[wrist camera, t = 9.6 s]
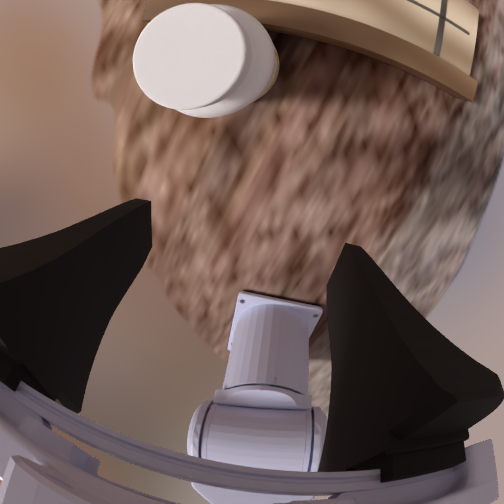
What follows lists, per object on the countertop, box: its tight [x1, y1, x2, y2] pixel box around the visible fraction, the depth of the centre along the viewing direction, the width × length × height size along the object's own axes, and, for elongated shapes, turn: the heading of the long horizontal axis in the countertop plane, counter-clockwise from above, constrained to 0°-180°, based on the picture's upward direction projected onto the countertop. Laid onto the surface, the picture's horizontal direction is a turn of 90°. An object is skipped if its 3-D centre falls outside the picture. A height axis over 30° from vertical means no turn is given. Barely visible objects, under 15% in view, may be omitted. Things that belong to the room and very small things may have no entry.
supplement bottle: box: [133, 3, 279, 118], centre depth 11 cm, size 5×5×10 cm
